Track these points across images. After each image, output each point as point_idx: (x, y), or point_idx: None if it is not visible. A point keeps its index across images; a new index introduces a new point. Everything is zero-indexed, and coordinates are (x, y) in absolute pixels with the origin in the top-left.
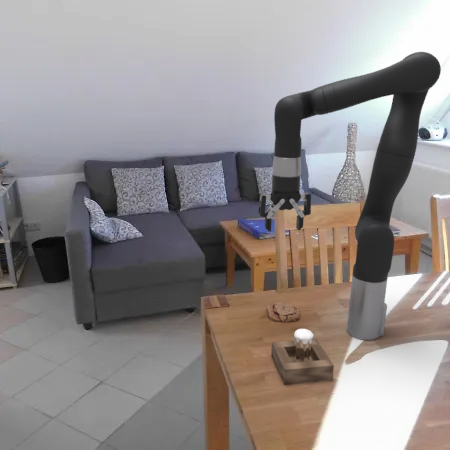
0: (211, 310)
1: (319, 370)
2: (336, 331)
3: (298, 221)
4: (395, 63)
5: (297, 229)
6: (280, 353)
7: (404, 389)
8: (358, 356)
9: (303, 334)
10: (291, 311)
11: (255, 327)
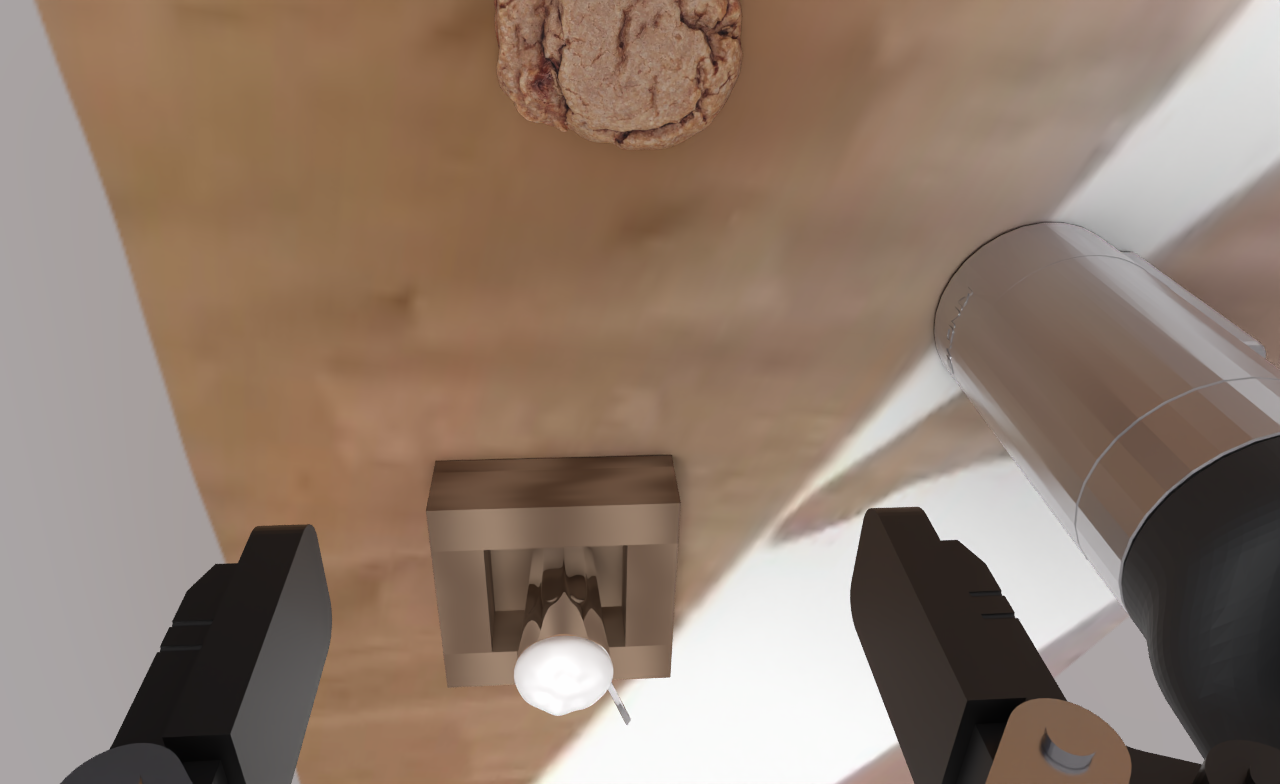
0: None
1: None
2: (879, 286)
3: (905, 717)
4: None
5: (856, 561)
6: (452, 593)
7: None
8: (858, 501)
9: (552, 711)
10: (667, 104)
11: (382, 173)
